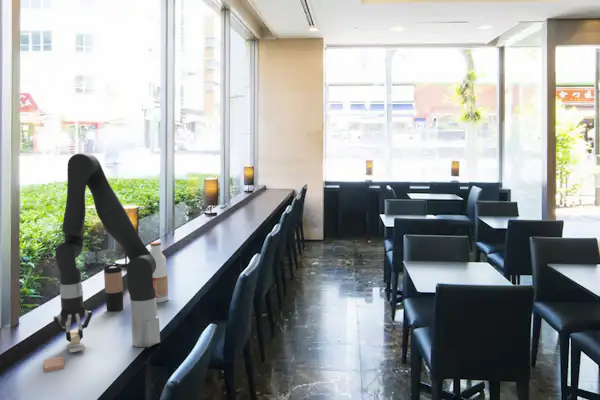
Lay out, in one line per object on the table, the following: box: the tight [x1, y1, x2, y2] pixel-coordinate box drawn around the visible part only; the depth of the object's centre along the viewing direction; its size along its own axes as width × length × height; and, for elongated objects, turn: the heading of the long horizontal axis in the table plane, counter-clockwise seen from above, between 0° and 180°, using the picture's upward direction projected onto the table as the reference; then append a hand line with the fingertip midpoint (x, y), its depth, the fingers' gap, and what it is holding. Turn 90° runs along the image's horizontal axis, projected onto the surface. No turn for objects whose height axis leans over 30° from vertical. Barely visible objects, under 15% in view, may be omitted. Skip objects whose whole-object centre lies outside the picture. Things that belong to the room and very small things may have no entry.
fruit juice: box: [149, 241, 169, 304], centre depth 256 cm, size 9×9×28 cm
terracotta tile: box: [43, 355, 65, 373], centre depth 180 cm, size 2×6×8 cm
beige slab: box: [67, 329, 86, 353], centre depth 196 cm, size 15×5×3 cm, turn 28°
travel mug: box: [103, 264, 124, 313], centre depth 243 cm, size 8×8×20 cm
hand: (74, 340), depth 198 cm, fingers open, 3 cm apart
